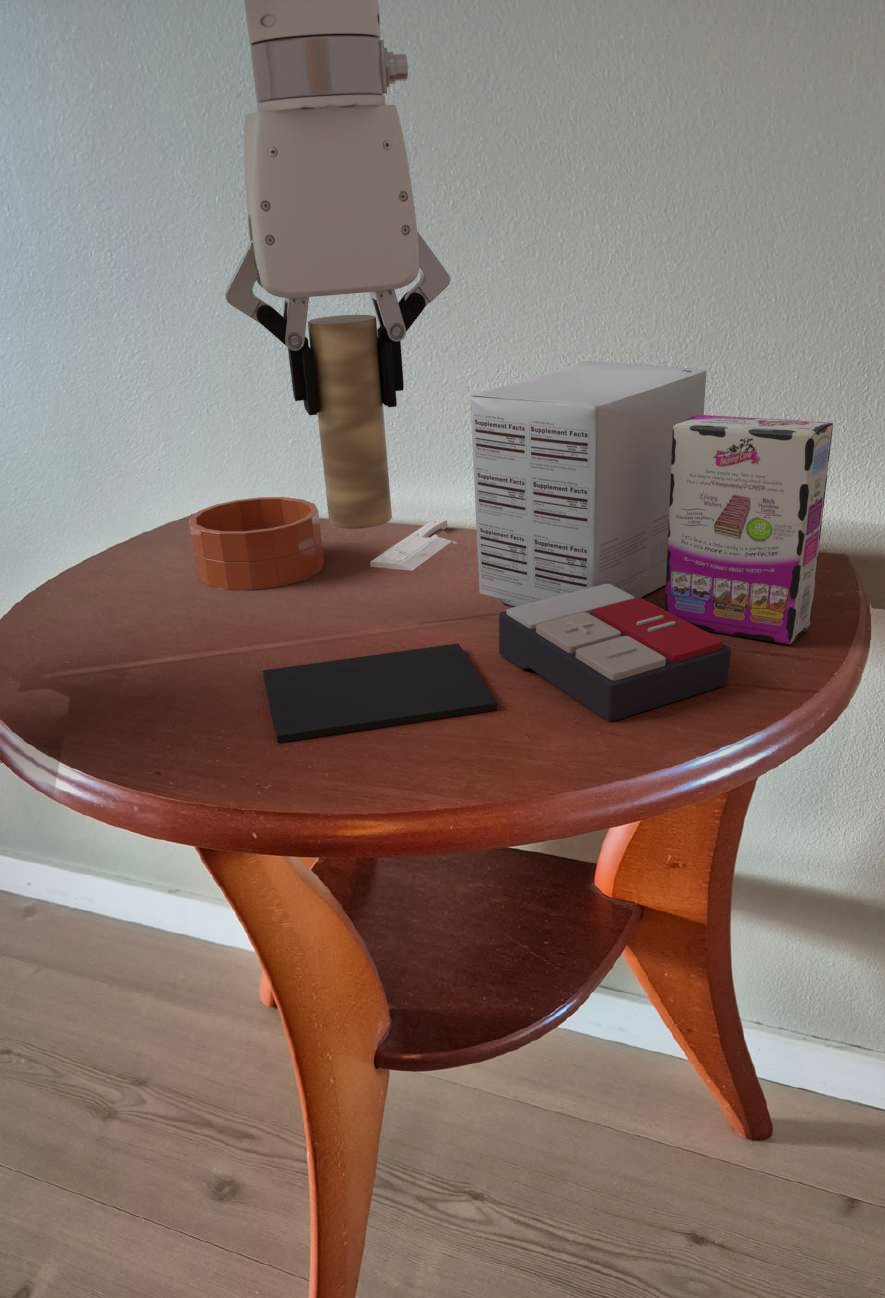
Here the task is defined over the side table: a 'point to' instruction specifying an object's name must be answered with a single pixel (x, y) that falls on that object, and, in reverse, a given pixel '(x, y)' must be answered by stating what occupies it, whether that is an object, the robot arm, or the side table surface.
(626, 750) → the side table surface
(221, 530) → the crock
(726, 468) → the candy bar box
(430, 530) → the butcher knife
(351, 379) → the pestle
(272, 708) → the mat
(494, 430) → the supplement box
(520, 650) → the calculator
